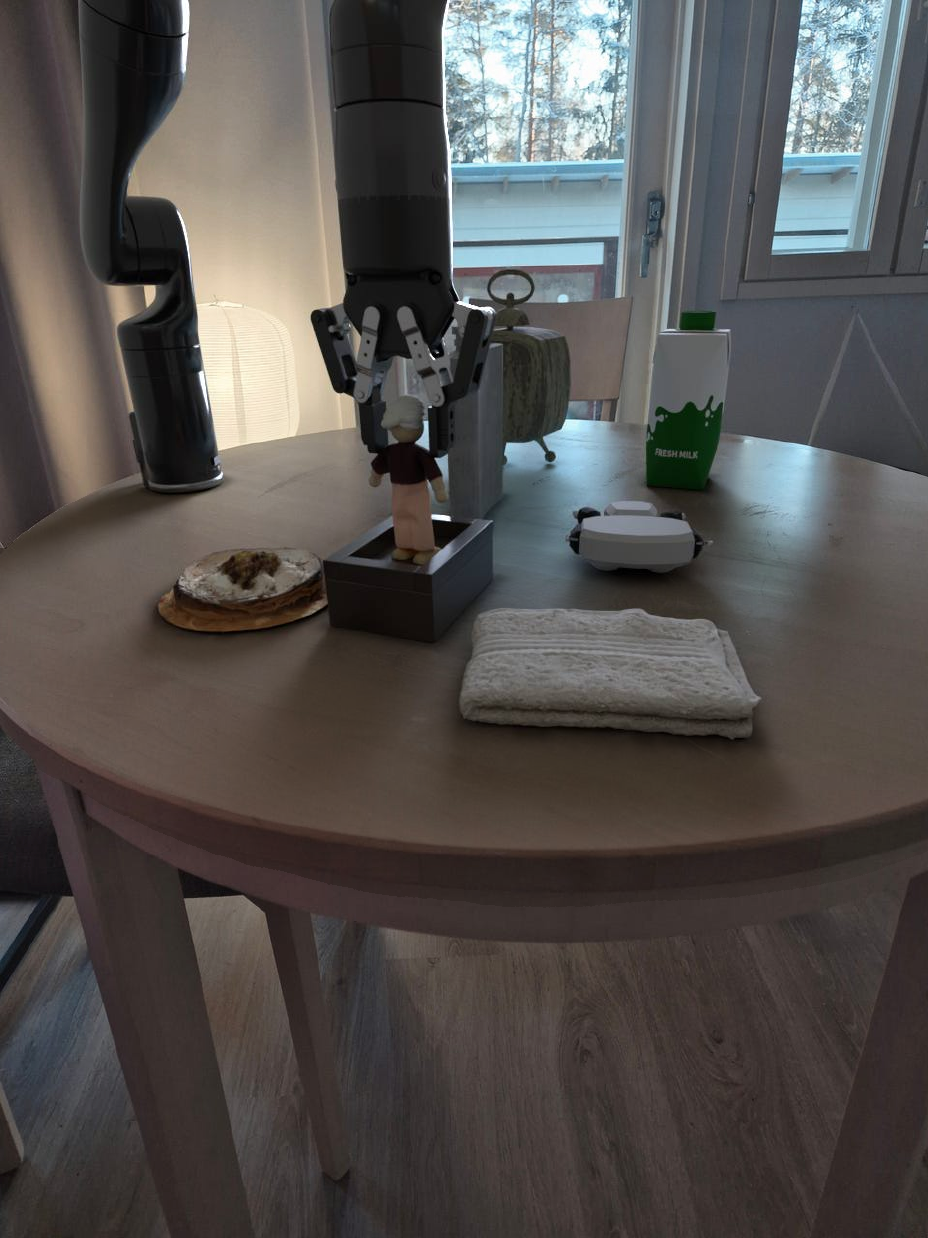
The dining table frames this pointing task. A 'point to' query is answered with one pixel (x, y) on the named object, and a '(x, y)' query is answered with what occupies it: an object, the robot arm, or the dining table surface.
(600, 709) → the washcloth
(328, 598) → the box with recessed lid
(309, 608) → the cream topped tart
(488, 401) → the hip flask
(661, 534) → the robot toy
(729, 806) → the dining table surface
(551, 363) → the tabletop clock
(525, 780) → the dining table surface
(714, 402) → the milk carton
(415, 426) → the grandmother figurine
